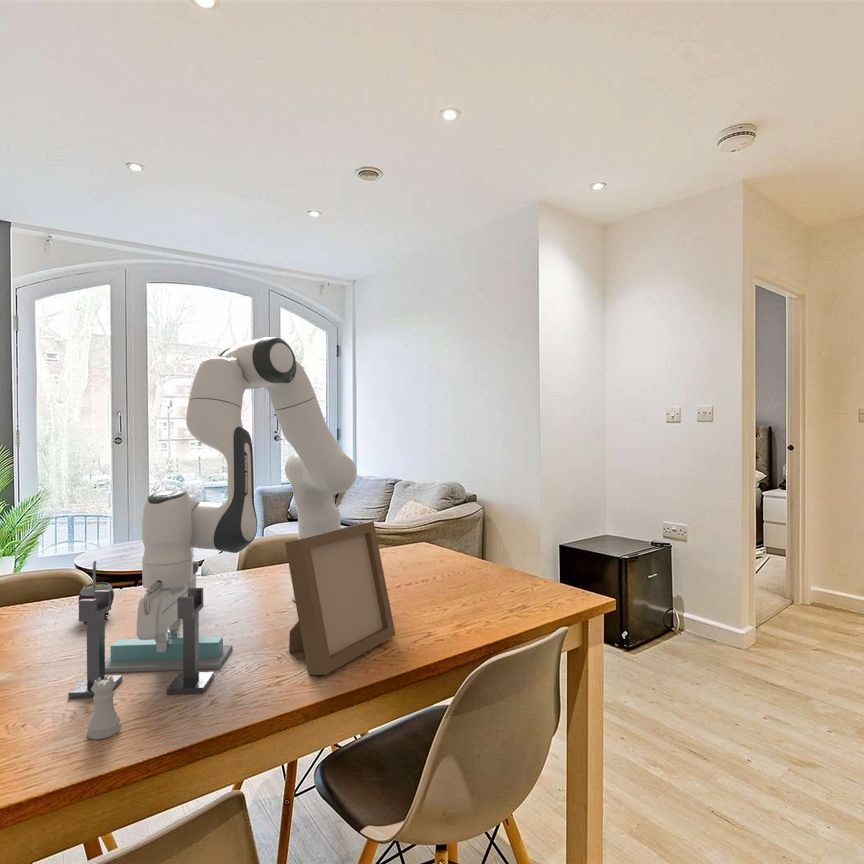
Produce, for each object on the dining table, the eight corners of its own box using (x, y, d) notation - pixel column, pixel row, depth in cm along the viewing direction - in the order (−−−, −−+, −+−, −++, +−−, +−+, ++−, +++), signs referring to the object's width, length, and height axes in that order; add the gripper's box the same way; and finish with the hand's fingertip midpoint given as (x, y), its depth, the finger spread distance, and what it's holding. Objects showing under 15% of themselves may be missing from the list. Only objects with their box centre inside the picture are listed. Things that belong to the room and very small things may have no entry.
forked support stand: (213, 677, 101) (213, 587, 101) (203, 693, 95) (202, 598, 95) (87, 681, 99) (86, 590, 99) (68, 698, 93) (67, 601, 93)
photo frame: (395, 639, 118) (394, 523, 118) (325, 680, 100) (323, 542, 100) (343, 626, 126) (341, 517, 126) (268, 662, 108) (266, 534, 107)
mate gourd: (99, 612, 135) (98, 551, 134) (123, 616, 132) (123, 554, 132) (69, 623, 127) (69, 558, 127) (95, 627, 125) (94, 561, 125)
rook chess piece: (96, 725, 85) (95, 673, 85) (126, 723, 86) (126, 672, 85) (80, 741, 81) (79, 687, 81) (112, 740, 81) (111, 686, 81)
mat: (232, 648, 113) (232, 645, 113) (219, 668, 104) (219, 664, 104) (120, 652, 112) (120, 648, 111) (97, 672, 103) (97, 668, 103)
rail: (222, 651, 110) (222, 636, 110) (218, 657, 107) (218, 642, 107) (118, 654, 109) (117, 639, 109) (110, 661, 106) (110, 645, 106)
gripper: (163, 590, 98) (164, 667, 98) (201, 560, 118) (201, 625, 118) (126, 591, 97) (126, 669, 97) (170, 561, 117) (171, 625, 118)
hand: (168, 644), depth 108 cm, fingers open, 4 cm apart
